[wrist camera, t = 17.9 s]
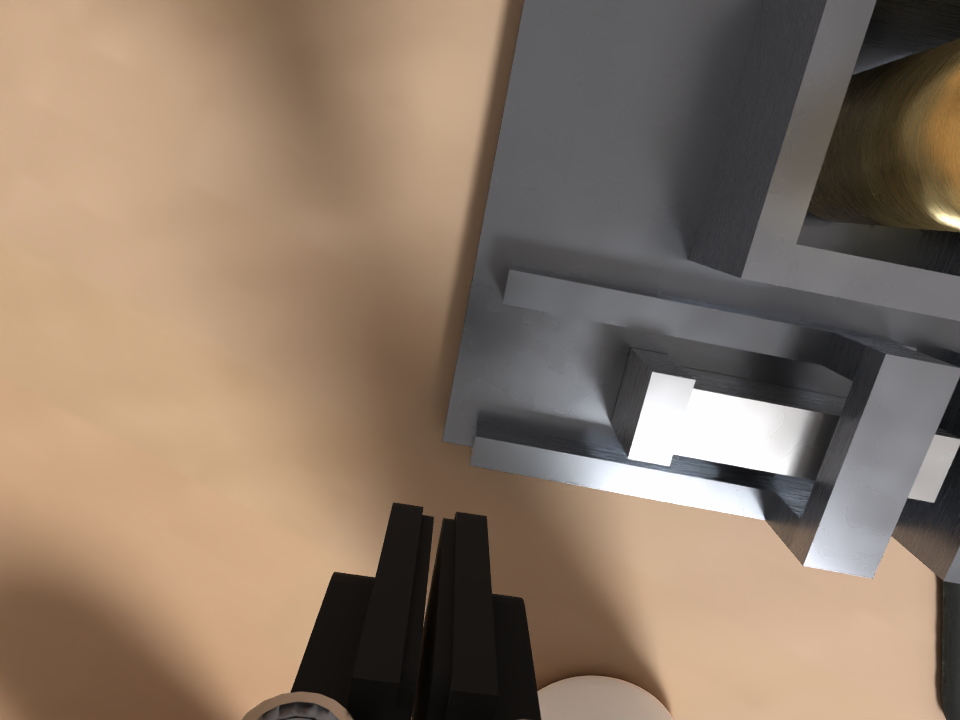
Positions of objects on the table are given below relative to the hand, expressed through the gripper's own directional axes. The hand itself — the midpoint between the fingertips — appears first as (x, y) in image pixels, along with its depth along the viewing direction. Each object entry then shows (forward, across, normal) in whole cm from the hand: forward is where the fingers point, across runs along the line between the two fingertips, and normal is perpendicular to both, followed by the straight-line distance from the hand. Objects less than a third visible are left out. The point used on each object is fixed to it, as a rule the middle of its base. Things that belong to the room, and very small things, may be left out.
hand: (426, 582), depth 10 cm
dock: (+10, -8, -7) cm, 14 cm away
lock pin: (+9, -10, -2) cm, 13 cm away
